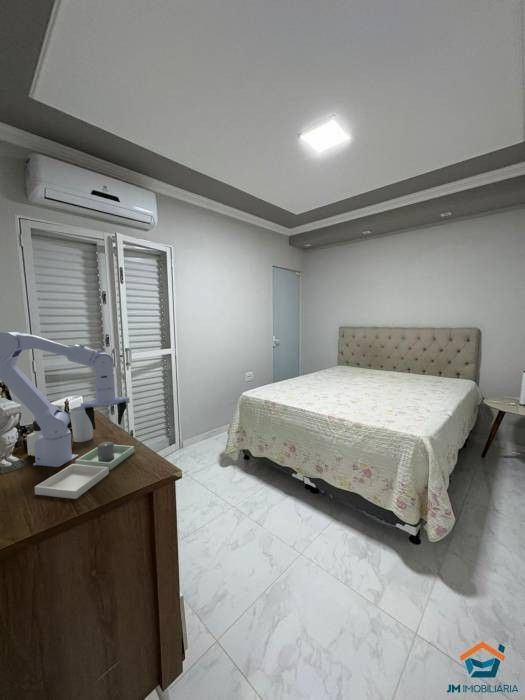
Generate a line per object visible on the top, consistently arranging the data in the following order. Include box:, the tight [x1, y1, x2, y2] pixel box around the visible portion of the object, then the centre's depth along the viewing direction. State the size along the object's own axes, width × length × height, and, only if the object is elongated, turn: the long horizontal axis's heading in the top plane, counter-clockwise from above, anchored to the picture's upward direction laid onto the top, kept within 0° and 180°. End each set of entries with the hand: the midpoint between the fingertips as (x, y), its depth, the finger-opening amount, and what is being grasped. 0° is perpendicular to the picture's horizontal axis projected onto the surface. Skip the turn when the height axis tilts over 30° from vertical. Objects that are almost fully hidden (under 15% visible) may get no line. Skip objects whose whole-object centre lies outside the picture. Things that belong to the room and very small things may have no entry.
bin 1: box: [34, 463, 110, 500], centre depth 77 cm, size 12×12×3 cm
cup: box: [69, 405, 94, 443], centre depth 107 cm, size 8×8×12 cm
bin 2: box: [74, 444, 135, 471], centre depth 91 cm, size 12×12×3 cm
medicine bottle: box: [26, 419, 42, 457], centre depth 96 cm, size 7×7×12 cm
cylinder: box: [96, 441, 115, 462], centre depth 90 cm, size 5×5×5 cm
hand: (107, 426), depth 96 cm, fingers open, 7 cm apart
